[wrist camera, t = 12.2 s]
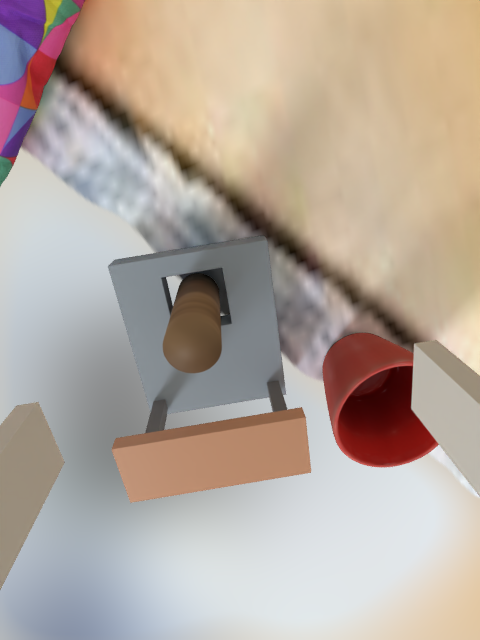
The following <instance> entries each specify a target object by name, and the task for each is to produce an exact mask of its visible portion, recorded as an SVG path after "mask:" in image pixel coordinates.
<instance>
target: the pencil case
mask: <svg viewBox="0 0 480 640" xmlns="http://www.w3.org/2000/svg"><path fill="white" fill-rule="evenodd" d="M84 1H85V0H0V186H1V184H2V183H3V181H4V180H5V179H6V177H7V176H8V174H9V172H10V170H11V168H12V166H13V164H14V162H15V160H16V157H17V155H18V152H19V149H20V147H21V144H22V142H23V139H24V137H25V135H26V133H27V131H28V129H29V127H30V125H31V122H32V119H33V117H34V115H35V113H36V110H37V108H38V106H39V103H40V100H41V96H42V93H43V88H44V86H45V85H46V84H47V82H48V80H49V78H50V76H51V74H52V71H53V69H54V66H55V63H56V60H57V58H58V56H59V55H60V53H61V51H62V48H63V46H64V43H65V41H66V38H67V36H68V34H69V32H70V29H71V26H72V25H73V24H74V23H75V21H76V19H77V17H78V15H79V13H80V11H81V8H82V6H83V3H84Z"/></svg>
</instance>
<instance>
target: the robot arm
mask: <svg viewBox="0 0 480 640" xmlns="http://www.w3.org/2000/svg"><path fill="white" fill-rule="evenodd" d="M411 409H412V410H413V412H414V413H415V414H416V416H417V417H418V418H419V419H420V421H421V422H422V423H423V424H424V426H425V427H426V428H427V430H428V431H429V432H430V433H431V435H432V436H433V437H434V439H435V440H436V441H437V442H438V444H439V445H440V446H441V448H442V449H443V450H444V451H445V453H446V454H447V455H448V457H449V458H450V459H451V460H452V462H453V463H454V464H455V466H456V467H457V468H458V469H459V471H460V472H461V473H462V474H463V476H464V477H465V478H466V480H467V481H468V482H469V483H470V485H471V486H472V487H473V489H474V490H475V491H476V492H477V494H478V495H479V496H480V376H479V375H478V374H477V373H476V372H474V371H473V370H472V369H471V368H470V367H468V366H467V365H466V364H465V363H463V362H462V361H461V360H460V359H459V358H457V357H456V356H455V355H454V354H453V353H451V352H450V351H449V350H448V349H446V348H445V347H444V346H443V345H442V344H440V343H439V342H438V341H437V340H434V341H428V342H421V343H415V344H414V359H413V381H412V402H411ZM64 463H65V462H64V460H63V458H62V455H61V453H60V451H59V448H58V446H57V444H56V441H55V439H54V437H53V435H52V432H51V430H50V428H49V426H48V423H47V421H46V419H45V416H44V414H43V412H42V409H41V407H40V405H39V403H38V402H36V403H30V404H23V405H17V406H16V407H15V408H14V409H13V411H12V412H11V413H10V414H9V415H8V417H7V418H6V419H5V420H4V421H3V423H2V424H1V425H0V590H1V588H2V586H3V584H4V582H5V580H6V578H7V576H8V574H9V572H10V570H11V568H12V566H13V564H14V562H15V560H16V558H17V556H18V554H19V552H20V550H21V548H22V546H23V544H24V542H25V540H26V538H27V536H28V534H29V532H30V530H31V528H32V526H33V524H34V522H35V520H36V518H37V516H38V514H39V512H40V510H41V508H42V506H43V504H44V502H45V500H46V498H47V496H48V494H49V492H50V490H51V488H52V486H53V484H54V482H55V481H56V479H57V477H58V475H59V473H60V471H61V468H62V466H63V465H64Z"/></svg>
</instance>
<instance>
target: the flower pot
mask: <svg viewBox="0 0 480 640" xmlns="http://www.w3.org/2000/svg"><path fill="white" fill-rule="evenodd" d="M413 359H414V354H413V353H411V352H410V351H408V350H406V349H404V348H402V347H400V346H398V345H396V344H394V343H392V342H390V341H387V340H385V339H383V338H381V337H379V336H376V335H374V334H370V333H355V334H351V335H348V336H346V337H344V338H342V339H340V340H339V341H338V342H336V343H335V344H334V345H333V346H332V347H331V348H330V349H329V351H328V353H327V354H326V356H325V359H324V362H323V379H324V386H325V394H326V400H327V405H328V410H329V416H330V420H331V425H332V429H333V434H334V437H335V440H336V443H337V445H338V446H339V448H340V449H341V451H342V452H343V453H344V454H345V455H346V456H348V457H349V458H351V459H352V460H354V461H356V462H358V463H360V464H363V465H367V466H372V467H393V466H398V465H402V464H406V463H409V462H412V461H414V460H417V459H419V458H421V457H423V456H424V455H426V454H428V453H429V452H431V451H432V450H433V449H434V448H436V447H437V446H438V445H439V444H438V442H437V441H436V440H435V439H434V437H433V436H432V435H431V433H430V432H429V431H428V430H427V428H426V427H425V426H424V424H423V423H422V422H421V421H420V419H419V418H418V417H417V416H416V414H415V413H414V412H413V410H412V409H411V402H412V381H413Z"/></svg>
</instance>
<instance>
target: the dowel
mask: <svg viewBox="0 0 480 640" xmlns="http://www.w3.org/2000/svg"><path fill="white" fill-rule="evenodd" d="M221 351H222V338H221V317H220V295H219V287H218V285H217V283H216V282H215V280H214V279H213V278H211V277H210V276H208V275H206V274H202V273H194V274H191V275H189V276H187V277H186V278H184V279H183V280H182V282H181V283H180V286H179V289H178V292H177V295H176V299H175V302H174V306H173V309H172V312H171V316H170V319H169V323H168V326H167V329H166V333H165V336H164V340H163V353H164V356H165V358H166V360H167V361H168V362H169V364H170V365H171V366H173V367H174V368H175V369H177V370H179V371H182V372H185V373H200V372H203V371H206V370H208V369H210V368H211V367H212V366H214V365H215V364H216V362H217V361H218V360H219V358H220V355H221Z"/></svg>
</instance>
